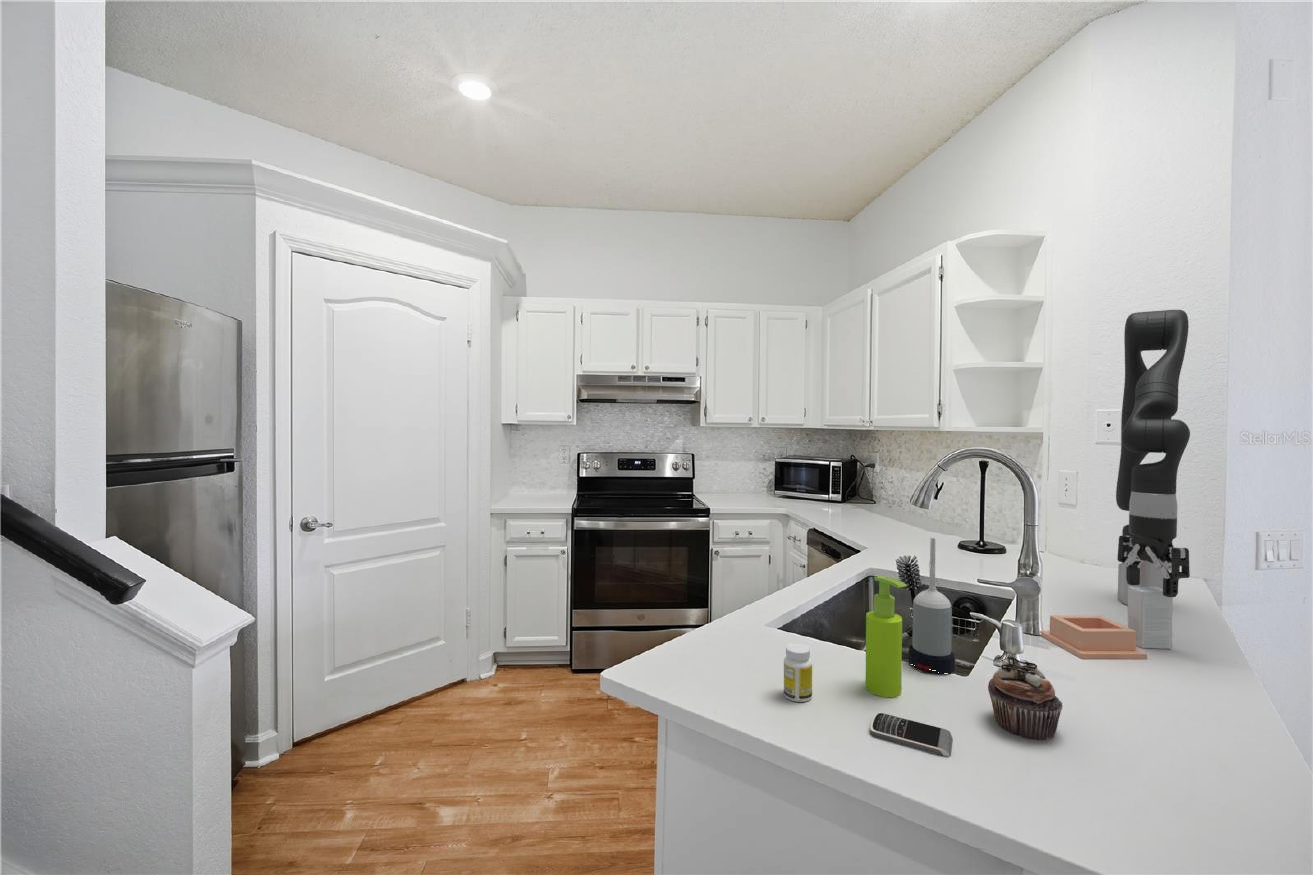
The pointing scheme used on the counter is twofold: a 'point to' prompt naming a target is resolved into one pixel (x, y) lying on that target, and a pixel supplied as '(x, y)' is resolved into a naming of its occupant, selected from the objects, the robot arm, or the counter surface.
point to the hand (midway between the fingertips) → (1150, 590)
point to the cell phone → (912, 734)
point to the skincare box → (1150, 617)
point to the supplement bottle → (798, 673)
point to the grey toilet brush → (932, 628)
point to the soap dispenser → (884, 642)
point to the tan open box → (1093, 637)
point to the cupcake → (1024, 700)
